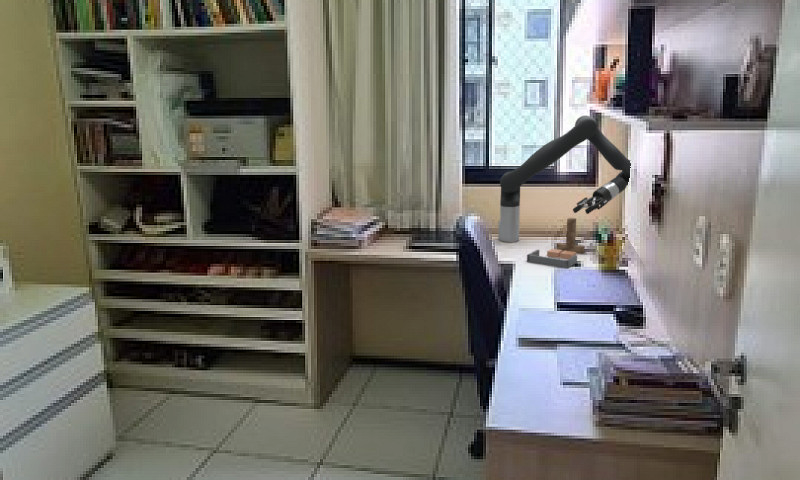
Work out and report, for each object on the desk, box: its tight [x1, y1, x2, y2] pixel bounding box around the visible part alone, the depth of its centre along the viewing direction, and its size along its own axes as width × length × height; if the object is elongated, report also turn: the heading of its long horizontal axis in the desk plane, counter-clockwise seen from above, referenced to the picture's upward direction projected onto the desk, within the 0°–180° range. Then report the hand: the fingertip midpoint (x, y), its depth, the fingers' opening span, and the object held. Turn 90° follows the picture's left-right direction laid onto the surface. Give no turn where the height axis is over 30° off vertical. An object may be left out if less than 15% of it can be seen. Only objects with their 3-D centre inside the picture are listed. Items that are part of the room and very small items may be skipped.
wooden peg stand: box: [555, 217, 586, 255], centre depth 259 cm, size 12×3×15 cm, turn 52°
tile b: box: [559, 251, 577, 260], centre depth 252 cm, size 5×5×2 cm
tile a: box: [546, 248, 563, 259], centre depth 255 cm, size 5×5×2 cm
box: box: [526, 249, 578, 269], centre depth 246 cm, size 18×10×3 cm, turn 52°
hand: (579, 211), depth 259 cm, fingers open, 8 cm apart
